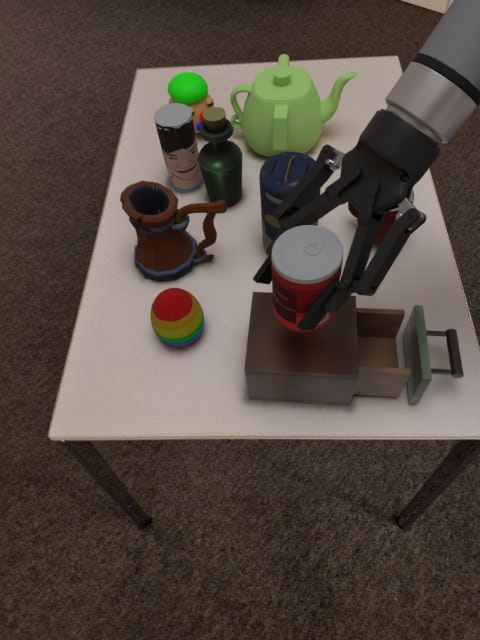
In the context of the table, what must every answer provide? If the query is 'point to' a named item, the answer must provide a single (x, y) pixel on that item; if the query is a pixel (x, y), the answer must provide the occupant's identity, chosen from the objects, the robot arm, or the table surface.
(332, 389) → the cabinet
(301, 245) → the canned food
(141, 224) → the mug
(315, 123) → the teapot
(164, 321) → the decorative egg
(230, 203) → the potion bottle
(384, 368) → the drawer
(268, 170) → the canister
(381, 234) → the mug
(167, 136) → the printed cylinder container
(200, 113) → the figurine
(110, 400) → the table surface
